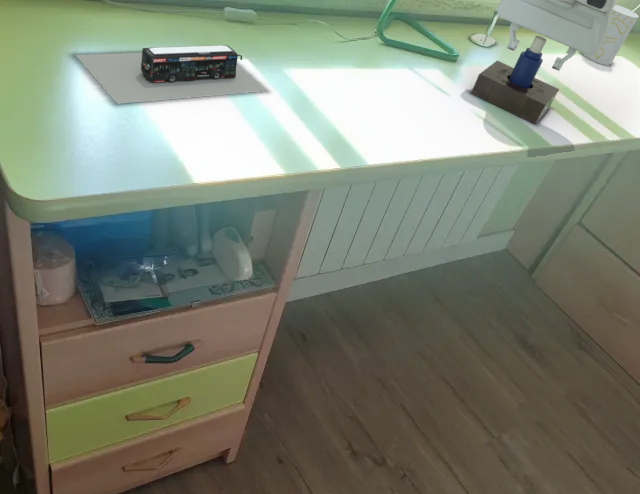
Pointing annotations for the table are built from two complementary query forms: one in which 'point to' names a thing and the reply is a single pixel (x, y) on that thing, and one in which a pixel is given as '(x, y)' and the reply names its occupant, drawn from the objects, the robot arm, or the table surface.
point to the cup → (615, 35)
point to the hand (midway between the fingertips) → (533, 58)
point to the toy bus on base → (170, 73)
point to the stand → (485, 38)
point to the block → (514, 93)
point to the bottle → (528, 64)
